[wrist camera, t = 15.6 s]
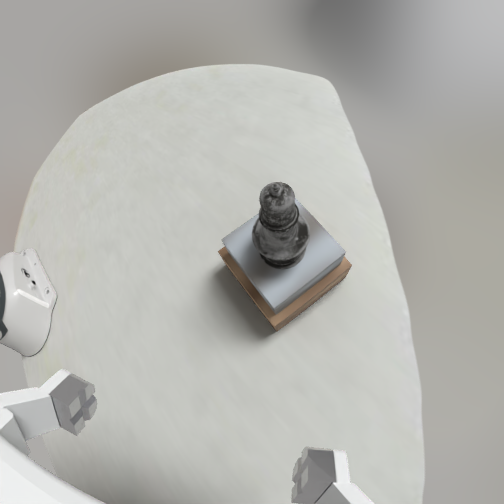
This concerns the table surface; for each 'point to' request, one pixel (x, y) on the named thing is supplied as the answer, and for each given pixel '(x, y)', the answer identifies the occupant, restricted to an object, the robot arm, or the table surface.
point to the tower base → (285, 271)
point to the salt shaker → (280, 227)
